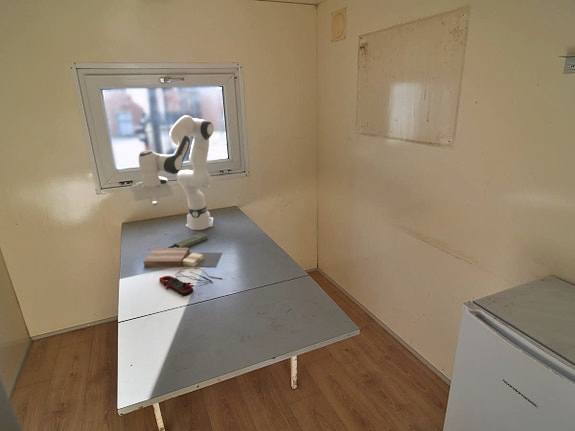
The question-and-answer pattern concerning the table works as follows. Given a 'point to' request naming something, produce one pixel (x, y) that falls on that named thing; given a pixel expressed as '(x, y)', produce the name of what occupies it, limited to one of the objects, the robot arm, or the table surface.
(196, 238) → the handheld radio
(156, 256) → the platform
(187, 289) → the digital clamp meter
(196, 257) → the tile
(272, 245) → the table surface
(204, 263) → the mat
